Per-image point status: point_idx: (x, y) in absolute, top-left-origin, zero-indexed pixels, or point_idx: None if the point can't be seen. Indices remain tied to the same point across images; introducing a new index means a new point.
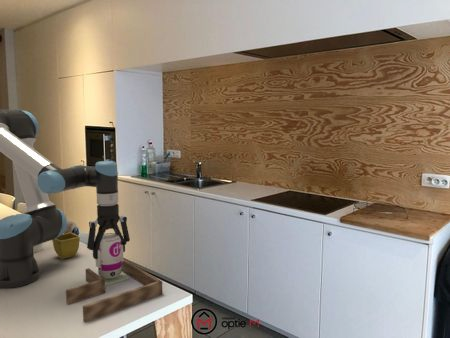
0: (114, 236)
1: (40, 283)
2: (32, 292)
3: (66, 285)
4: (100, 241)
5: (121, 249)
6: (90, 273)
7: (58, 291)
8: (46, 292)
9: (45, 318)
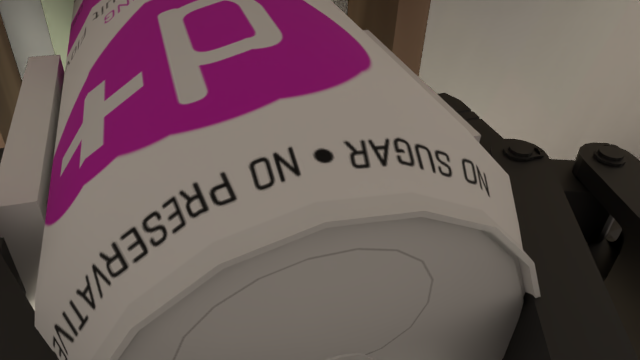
0: (231, 342)
1: None
2: (631, 107)
3: (484, 93)
4: (530, 243)
5: (39, 153)
6: (421, 32)
7: (562, 31)
8: (602, 62)
9: None
